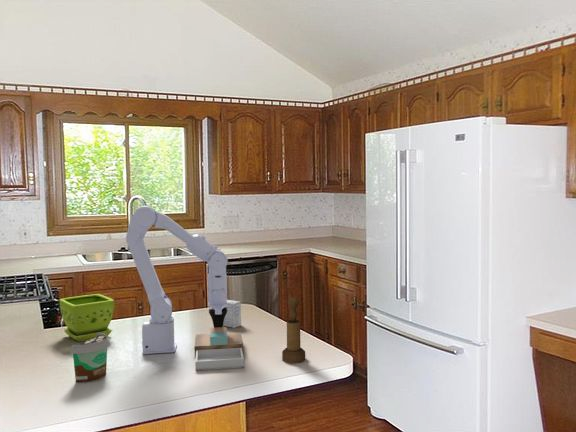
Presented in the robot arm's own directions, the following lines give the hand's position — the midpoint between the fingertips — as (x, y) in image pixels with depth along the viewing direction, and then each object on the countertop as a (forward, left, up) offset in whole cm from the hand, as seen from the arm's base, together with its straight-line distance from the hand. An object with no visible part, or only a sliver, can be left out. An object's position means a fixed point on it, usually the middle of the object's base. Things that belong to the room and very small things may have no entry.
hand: (218, 331), depth 162 cm
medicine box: (+4, +23, -4) cm, 24 cm away
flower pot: (-43, +18, -4) cm, 47 cm away
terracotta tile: (0, -4, -1) cm, 4 cm away
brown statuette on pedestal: (+21, -17, -4) cm, 27 cm away
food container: (-32, -21, -4) cm, 39 cm away
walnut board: (0, -5, -4) cm, 7 cm away
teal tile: (0, -9, -1) cm, 9 cm away
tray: (0, -17, -4) cm, 17 cm away
